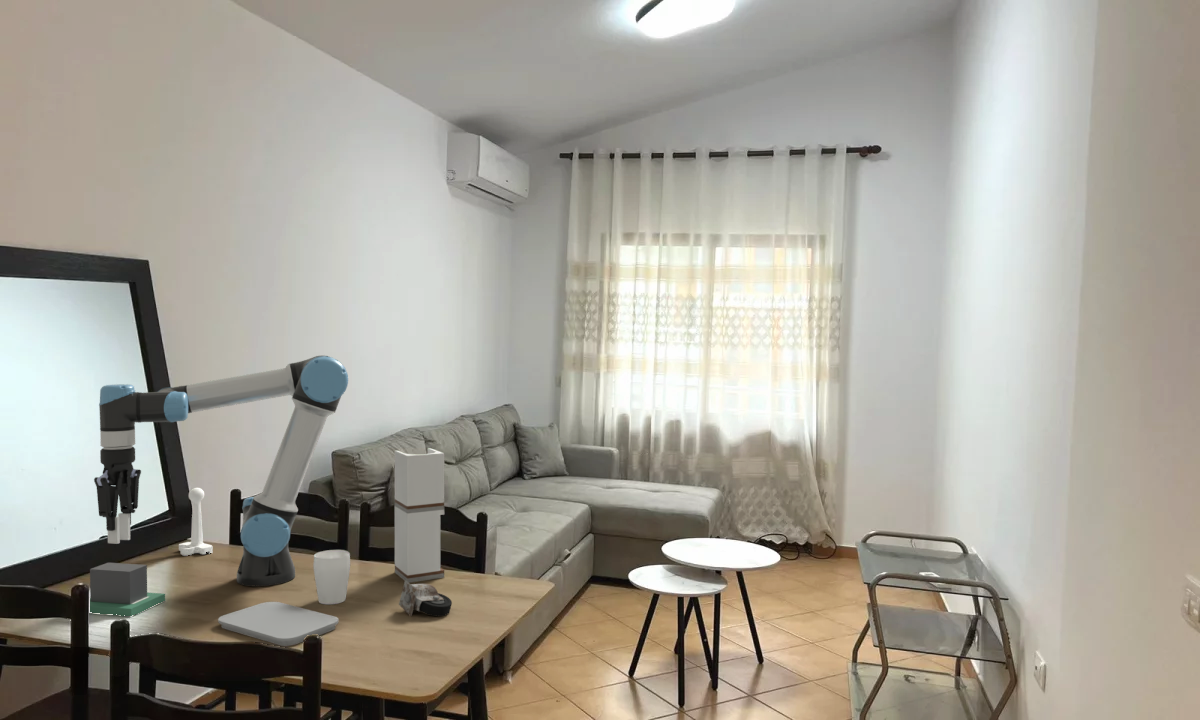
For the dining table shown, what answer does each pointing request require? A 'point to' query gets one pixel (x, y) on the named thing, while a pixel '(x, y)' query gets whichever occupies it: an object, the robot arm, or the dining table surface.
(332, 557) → the cup
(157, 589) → the dining table surface
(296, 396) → the robot arm
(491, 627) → the dining table surface
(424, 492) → the white striped vase
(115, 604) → the board
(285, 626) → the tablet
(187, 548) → the joystick
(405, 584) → the caster wheel
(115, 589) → the block
